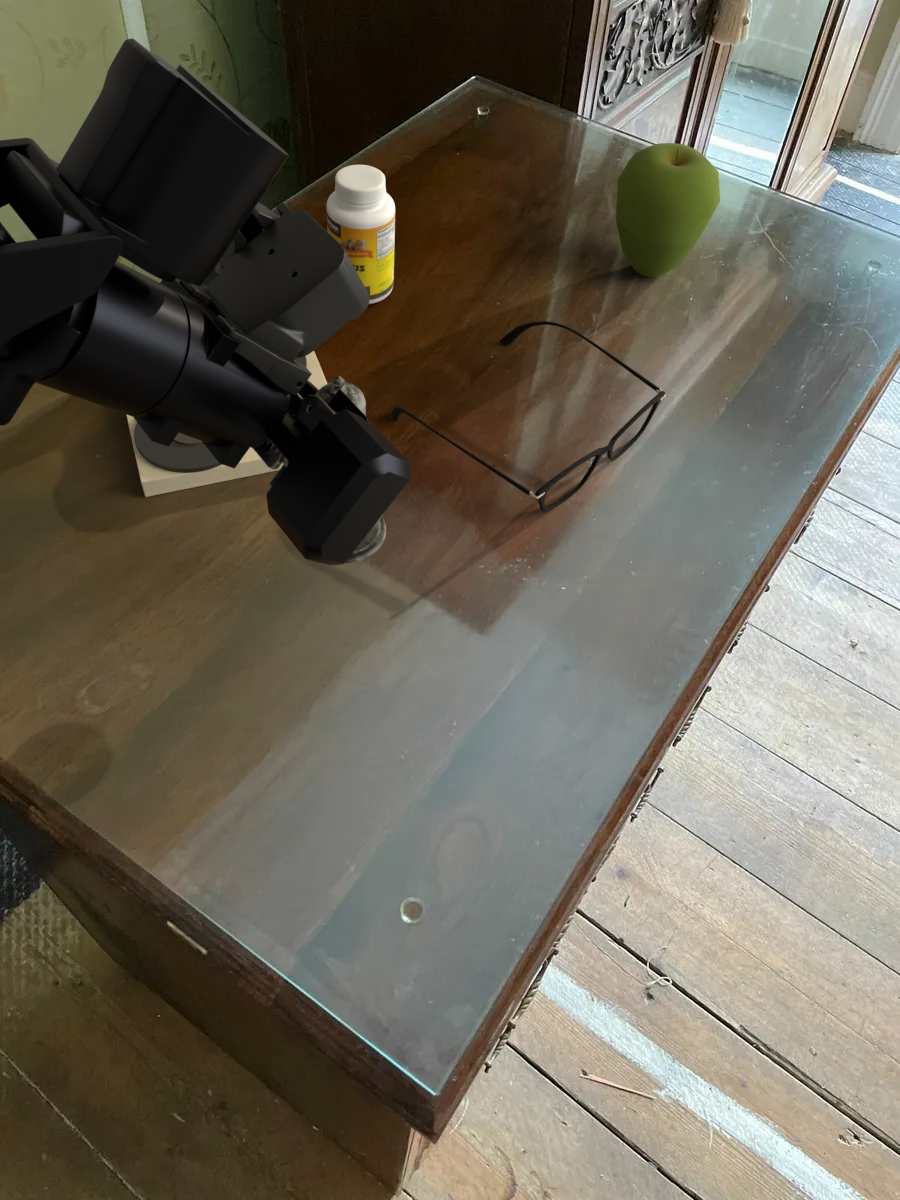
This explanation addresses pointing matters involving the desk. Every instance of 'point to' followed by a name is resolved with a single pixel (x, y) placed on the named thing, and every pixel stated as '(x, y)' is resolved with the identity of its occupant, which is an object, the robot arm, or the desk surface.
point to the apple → (664, 205)
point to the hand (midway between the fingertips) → (361, 443)
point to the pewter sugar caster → (356, 396)
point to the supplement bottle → (365, 226)
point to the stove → (196, 455)
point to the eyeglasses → (596, 453)
